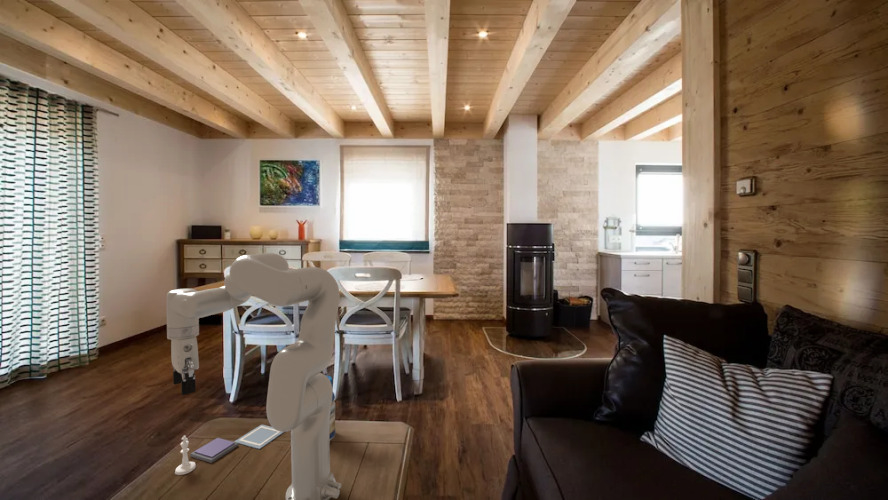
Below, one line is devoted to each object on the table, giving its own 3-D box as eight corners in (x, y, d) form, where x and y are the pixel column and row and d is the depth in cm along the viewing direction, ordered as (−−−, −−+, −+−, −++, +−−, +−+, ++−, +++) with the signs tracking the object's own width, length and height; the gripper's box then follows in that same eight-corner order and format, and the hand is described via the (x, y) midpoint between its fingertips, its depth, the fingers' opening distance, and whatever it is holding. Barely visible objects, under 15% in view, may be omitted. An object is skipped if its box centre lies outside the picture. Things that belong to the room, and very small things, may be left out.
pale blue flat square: (285, 431, 122) (285, 430, 122) (259, 449, 112) (259, 448, 112) (261, 425, 126) (261, 424, 126) (234, 442, 116) (234, 441, 116)
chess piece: (184, 476, 100) (183, 442, 99) (170, 473, 101) (169, 439, 100) (200, 465, 105) (199, 432, 104) (186, 462, 106) (185, 430, 105)
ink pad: (238, 446, 114) (237, 441, 114) (211, 463, 105) (211, 458, 105) (218, 440, 117) (217, 436, 117) (190, 456, 108) (190, 452, 108)
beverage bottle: (321, 428, 124) (320, 372, 123) (341, 432, 121) (340, 376, 120) (303, 441, 116) (302, 382, 115) (324, 446, 113) (323, 386, 113)
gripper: (207, 334, 100) (207, 393, 101) (190, 323, 112) (191, 375, 113) (174, 340, 95) (175, 402, 95) (160, 327, 106) (161, 382, 107)
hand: (184, 388), depth 104 cm, fingers open, 9 cm apart
